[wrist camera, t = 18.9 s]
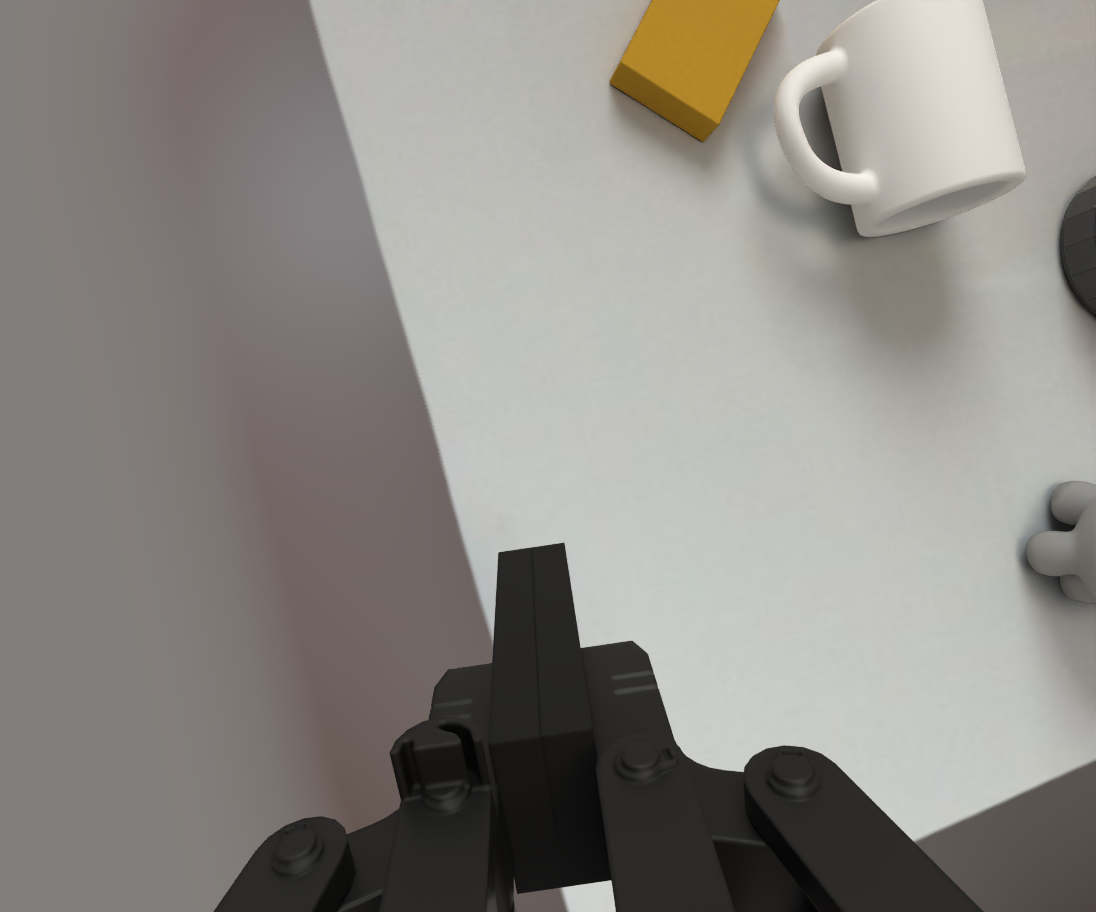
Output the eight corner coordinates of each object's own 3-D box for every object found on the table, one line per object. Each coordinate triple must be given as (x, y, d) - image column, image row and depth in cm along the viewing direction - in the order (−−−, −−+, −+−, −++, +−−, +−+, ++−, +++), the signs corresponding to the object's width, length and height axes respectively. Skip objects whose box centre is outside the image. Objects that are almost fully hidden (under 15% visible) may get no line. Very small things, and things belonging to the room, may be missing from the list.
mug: (904, 60, 44) (1016, -35, 36) (945, 224, 44) (1067, 164, 36) (722, 85, 41) (801, -12, 33) (766, 260, 41) (856, 204, 33)
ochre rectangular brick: (608, 83, 40) (620, 62, 38) (684, -64, 41) (699, -92, 39) (703, 143, 41) (719, 125, 39) (774, -3, 42) (793, -27, 40)
